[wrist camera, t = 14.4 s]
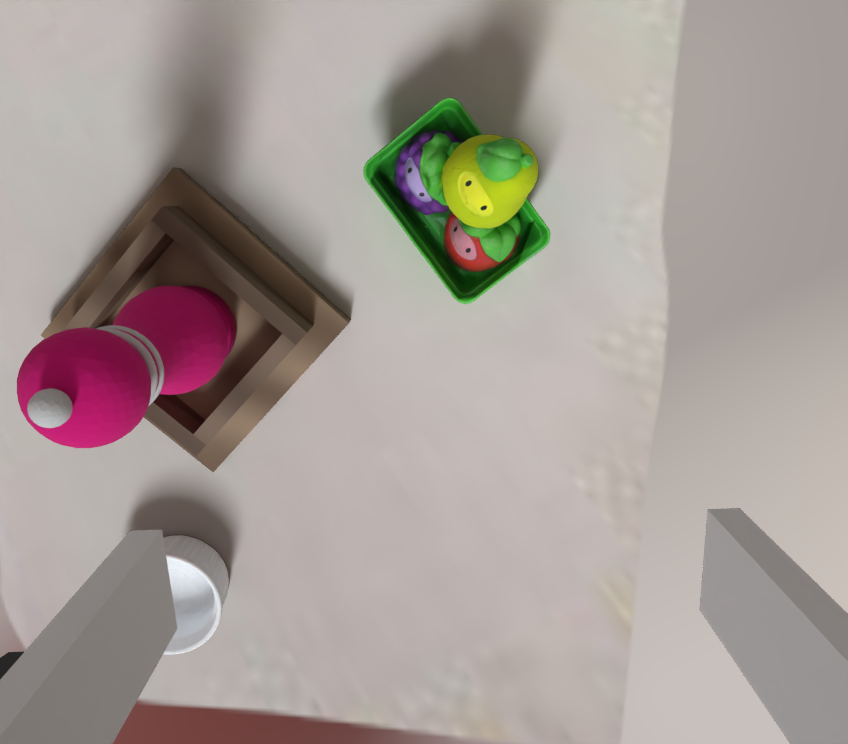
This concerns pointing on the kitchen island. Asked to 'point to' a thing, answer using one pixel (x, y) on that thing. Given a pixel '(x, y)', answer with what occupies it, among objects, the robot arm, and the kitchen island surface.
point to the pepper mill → (124, 365)
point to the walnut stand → (240, 289)
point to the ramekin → (194, 591)
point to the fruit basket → (461, 198)
